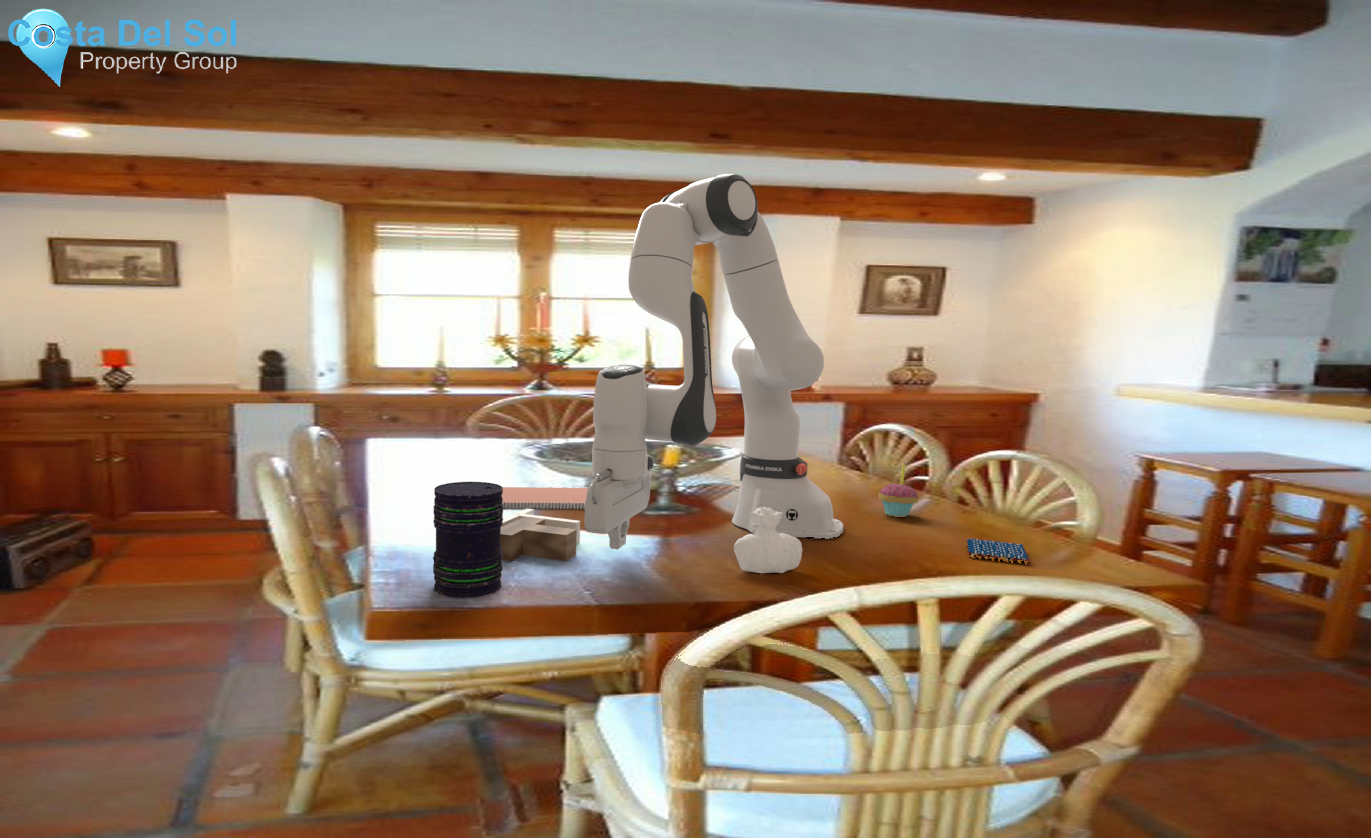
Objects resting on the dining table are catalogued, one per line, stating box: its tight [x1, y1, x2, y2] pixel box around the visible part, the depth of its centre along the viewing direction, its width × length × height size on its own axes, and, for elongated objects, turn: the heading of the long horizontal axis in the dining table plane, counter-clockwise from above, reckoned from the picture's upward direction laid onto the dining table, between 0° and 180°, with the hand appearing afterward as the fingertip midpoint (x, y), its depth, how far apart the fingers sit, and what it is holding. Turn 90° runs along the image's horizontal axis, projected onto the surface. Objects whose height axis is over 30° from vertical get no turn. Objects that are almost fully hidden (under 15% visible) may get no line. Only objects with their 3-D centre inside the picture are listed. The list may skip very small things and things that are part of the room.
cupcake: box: [878, 460, 919, 516], centre depth 174 cm, size 9×8×12 cm
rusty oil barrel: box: [432, 481, 504, 599], centre depth 116 cm, size 10×10×15 cm
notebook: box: [502, 486, 588, 511], centre depth 176 cm, size 27×17×2 cm, turn 98°
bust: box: [733, 507, 803, 574], centre depth 132 cm, size 12×8×11 cm
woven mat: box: [966, 538, 1031, 562], centre depth 146 cm, size 10×11×2 cm
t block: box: [500, 517, 577, 563], centre depth 135 cm, size 12×12×4 cm
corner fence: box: [501, 508, 581, 545], centre depth 136 cm, size 13×26×4 cm, turn 162°
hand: (617, 546), depth 131 cm, fingers closed
